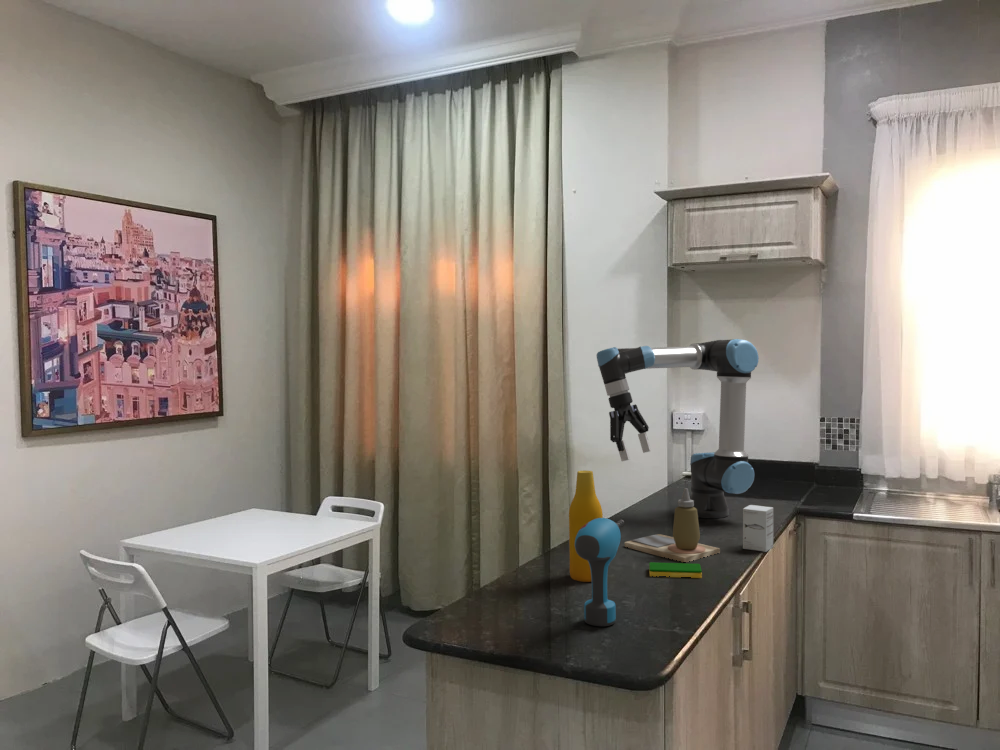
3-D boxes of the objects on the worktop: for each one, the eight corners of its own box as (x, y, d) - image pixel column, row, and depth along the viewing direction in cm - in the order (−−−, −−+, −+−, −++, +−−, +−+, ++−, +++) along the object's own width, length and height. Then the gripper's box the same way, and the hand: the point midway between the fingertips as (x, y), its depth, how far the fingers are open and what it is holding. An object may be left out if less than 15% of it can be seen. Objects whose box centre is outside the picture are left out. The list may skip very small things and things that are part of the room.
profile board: (659, 538, 249) (659, 533, 249) (719, 553, 230) (719, 547, 229) (624, 546, 239) (624, 541, 239) (684, 562, 220) (684, 556, 220)
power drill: (606, 595, 192) (605, 503, 192) (640, 599, 189) (639, 506, 188) (567, 633, 167) (565, 528, 166) (605, 639, 163) (603, 531, 163)
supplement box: (742, 549, 234) (741, 508, 233) (750, 544, 240) (750, 504, 239) (766, 552, 229) (766, 511, 229) (774, 547, 235) (773, 506, 235)
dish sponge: (649, 570, 215) (649, 561, 215) (699, 571, 212) (699, 563, 212) (649, 578, 208) (649, 569, 208) (702, 579, 205) (701, 570, 205)
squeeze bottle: (701, 545, 232) (700, 486, 232) (699, 552, 225) (698, 491, 224) (674, 543, 235) (673, 485, 234) (671, 550, 227) (670, 490, 227)
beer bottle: (610, 578, 207) (609, 472, 206) (583, 584, 202) (582, 475, 201) (589, 570, 215) (587, 467, 214) (562, 576, 210) (561, 471, 209)
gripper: (629, 391, 265) (646, 450, 263) (588, 402, 246) (606, 466, 244) (647, 386, 260) (664, 446, 258) (607, 397, 241) (625, 462, 240)
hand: (636, 456), depth 251 cm, fingers open, 13 cm apart
